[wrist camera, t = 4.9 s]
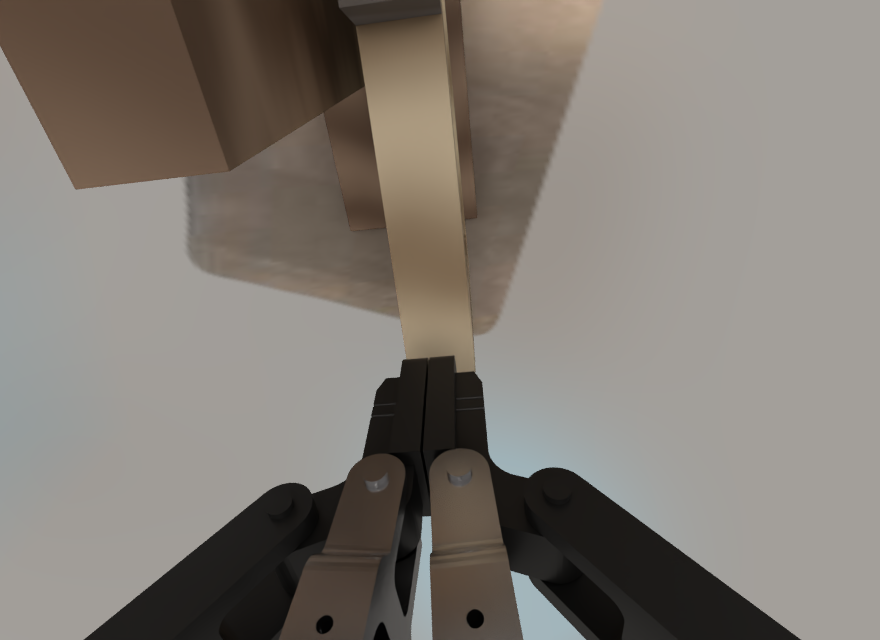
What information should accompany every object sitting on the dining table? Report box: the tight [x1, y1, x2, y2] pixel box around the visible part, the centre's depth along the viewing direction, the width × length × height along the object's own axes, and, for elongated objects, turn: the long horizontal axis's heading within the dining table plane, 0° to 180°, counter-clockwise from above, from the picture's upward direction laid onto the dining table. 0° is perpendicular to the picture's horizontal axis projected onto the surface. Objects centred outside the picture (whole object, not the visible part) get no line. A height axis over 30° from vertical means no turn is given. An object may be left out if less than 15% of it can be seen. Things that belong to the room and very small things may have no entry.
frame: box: [338, 0, 475, 373], centre depth 20 cm, size 24×2×18 cm, turn 7°
